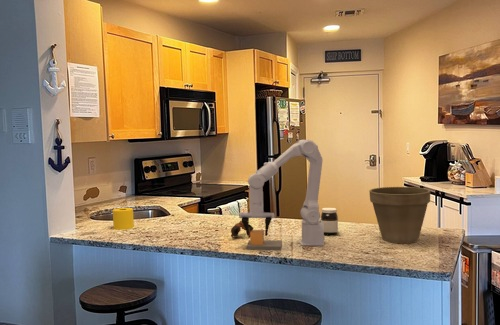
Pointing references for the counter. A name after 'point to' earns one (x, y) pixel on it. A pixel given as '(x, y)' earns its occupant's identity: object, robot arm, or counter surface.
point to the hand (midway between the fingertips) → (257, 235)
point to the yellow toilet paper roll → (123, 218)
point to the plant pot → (400, 212)
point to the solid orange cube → (257, 237)
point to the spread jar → (329, 221)
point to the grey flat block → (265, 245)
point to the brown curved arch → (237, 228)
